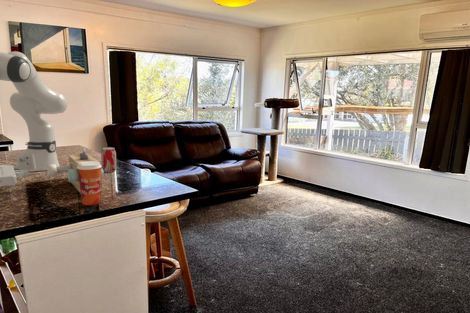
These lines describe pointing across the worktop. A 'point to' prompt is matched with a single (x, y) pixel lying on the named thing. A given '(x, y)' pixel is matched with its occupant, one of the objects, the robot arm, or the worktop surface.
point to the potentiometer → (83, 155)
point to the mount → (74, 162)
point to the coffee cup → (89, 182)
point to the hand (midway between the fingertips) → (28, 172)
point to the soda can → (108, 159)
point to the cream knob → (57, 169)
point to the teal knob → (75, 175)
